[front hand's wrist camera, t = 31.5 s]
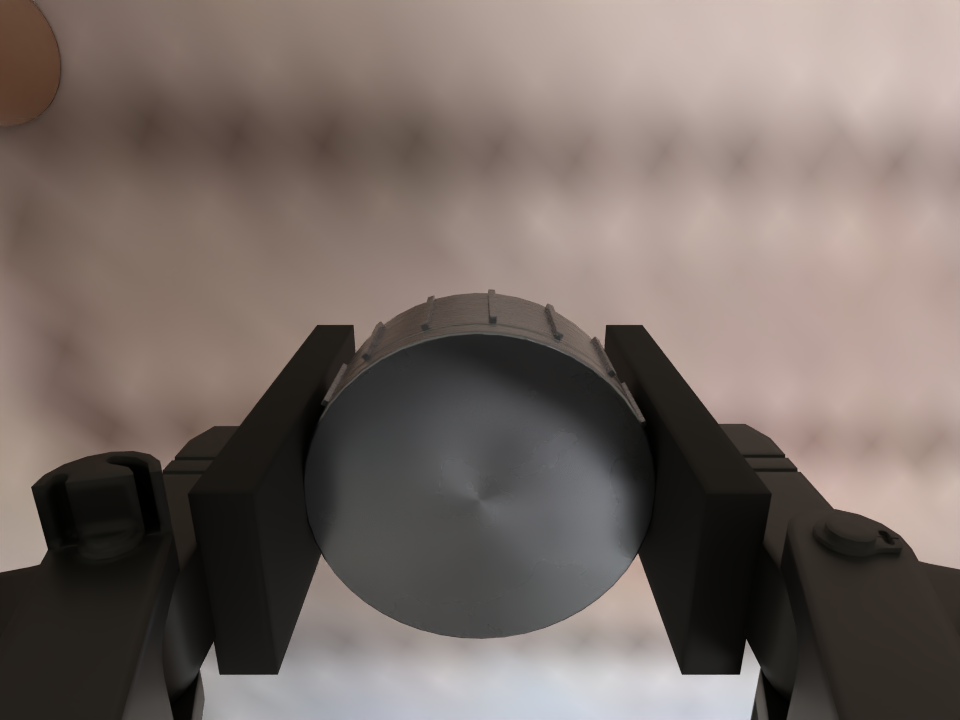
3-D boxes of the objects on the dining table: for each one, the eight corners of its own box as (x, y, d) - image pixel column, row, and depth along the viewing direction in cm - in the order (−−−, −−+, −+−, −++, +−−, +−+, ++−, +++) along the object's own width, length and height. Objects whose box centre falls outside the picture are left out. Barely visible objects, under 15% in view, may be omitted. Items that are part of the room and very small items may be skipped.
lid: (640, 284, 11) (677, 322, 9) (622, 558, 13) (649, 640, 11) (314, 290, 11) (277, 329, 9) (344, 562, 13) (319, 645, 11)
